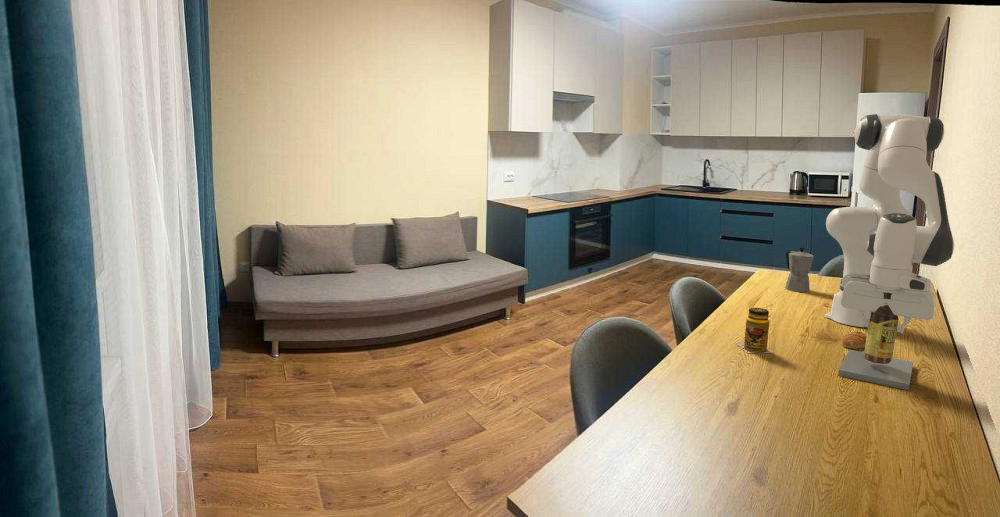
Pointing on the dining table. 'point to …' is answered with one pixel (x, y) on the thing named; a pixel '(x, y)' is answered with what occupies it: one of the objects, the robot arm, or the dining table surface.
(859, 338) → the pastry
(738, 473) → the dining table surface
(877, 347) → the sauce bottle
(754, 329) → the condiment
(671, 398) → the dining table surface
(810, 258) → the coffeepot
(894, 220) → the robot arm
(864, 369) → the serving board
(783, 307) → the dining table surface
